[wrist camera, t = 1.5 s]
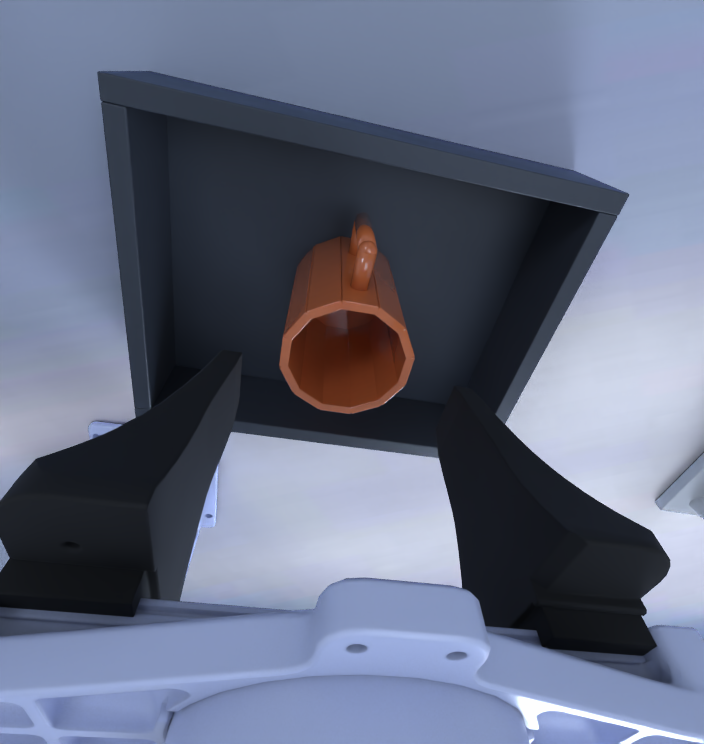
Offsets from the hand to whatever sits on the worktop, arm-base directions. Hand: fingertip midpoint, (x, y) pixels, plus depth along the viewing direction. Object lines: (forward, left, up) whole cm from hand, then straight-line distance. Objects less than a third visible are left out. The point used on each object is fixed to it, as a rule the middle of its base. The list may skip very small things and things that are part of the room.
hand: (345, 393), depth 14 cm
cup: (0, 0, -9) cm, 9 cm away
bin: (0, 0, -10) cm, 10 cm away
